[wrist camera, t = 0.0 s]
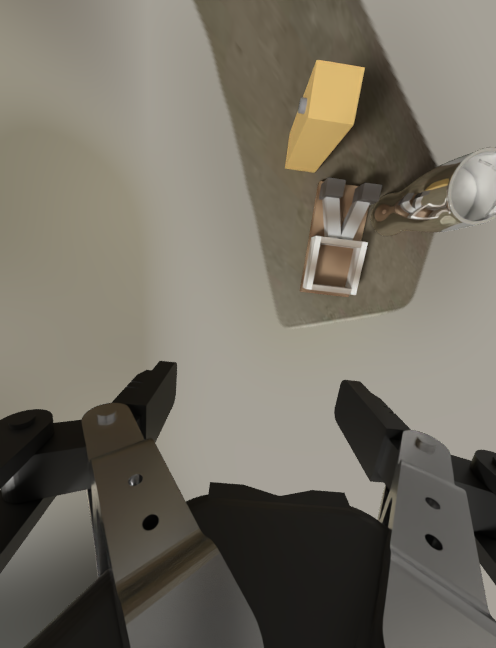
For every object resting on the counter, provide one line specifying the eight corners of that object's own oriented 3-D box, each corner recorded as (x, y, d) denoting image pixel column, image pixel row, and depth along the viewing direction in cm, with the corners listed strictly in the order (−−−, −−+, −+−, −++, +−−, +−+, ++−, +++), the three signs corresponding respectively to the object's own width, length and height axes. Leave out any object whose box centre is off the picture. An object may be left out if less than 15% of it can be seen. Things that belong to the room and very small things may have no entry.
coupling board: (318, 183, 36) (327, 173, 32) (369, 190, 36) (384, 181, 32) (299, 290, 40) (305, 294, 36) (345, 296, 40) (356, 300, 36)
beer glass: (358, 216, 37) (431, 188, 23) (394, 179, 36) (496, 125, 21) (385, 248, 38) (472, 242, 24) (421, 214, 37) (535, 186, 23)
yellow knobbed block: (285, 132, 34) (310, 58, 22) (324, 138, 34) (371, 68, 22) (280, 167, 35) (301, 117, 23) (318, 173, 35) (359, 125, 23)
